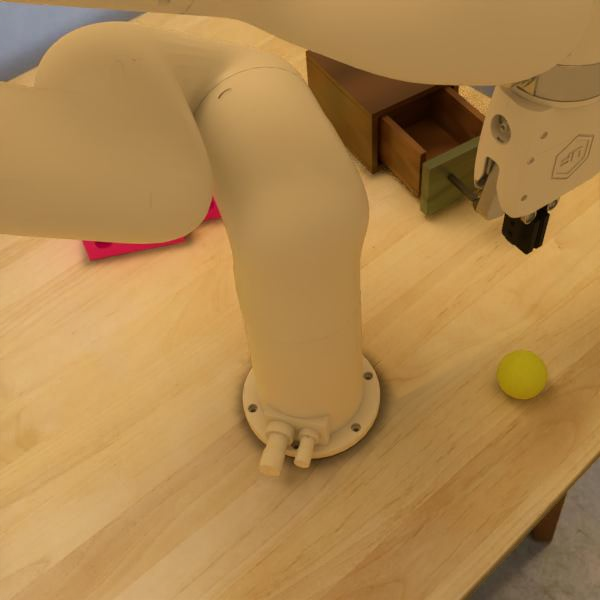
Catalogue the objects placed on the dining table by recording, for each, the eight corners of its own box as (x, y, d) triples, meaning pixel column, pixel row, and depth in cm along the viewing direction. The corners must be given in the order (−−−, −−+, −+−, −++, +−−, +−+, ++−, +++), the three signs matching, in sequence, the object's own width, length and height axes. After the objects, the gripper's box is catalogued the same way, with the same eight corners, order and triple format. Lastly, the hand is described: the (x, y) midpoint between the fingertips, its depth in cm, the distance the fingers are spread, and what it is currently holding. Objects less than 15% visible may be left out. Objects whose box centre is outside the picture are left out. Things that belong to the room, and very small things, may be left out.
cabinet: (454, 134, 100) (460, 73, 93) (372, 174, 97) (371, 114, 90) (388, 75, 107) (389, 15, 100) (309, 110, 104) (305, 50, 97)
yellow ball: (541, 412, 76) (549, 386, 73) (491, 403, 77) (496, 377, 74) (545, 371, 79) (552, 344, 75) (496, 364, 80) (502, 336, 76)
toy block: (90, 260, 91) (70, 211, 86) (87, 219, 95) (68, 169, 89) (227, 233, 92) (217, 183, 87) (219, 193, 96) (209, 143, 90)
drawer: (538, 208, 90) (549, 160, 85) (459, 250, 88) (464, 203, 82) (435, 116, 100) (438, 68, 95) (361, 151, 98) (360, 103, 92)
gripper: (517, 130, 53) (483, 311, 67) (684, 40, 57) (618, 227, 72) (439, 70, 57) (422, 253, 71) (600, -9, 61) (554, 178, 76)
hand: (521, 240), depth 71 cm, fingers closed
